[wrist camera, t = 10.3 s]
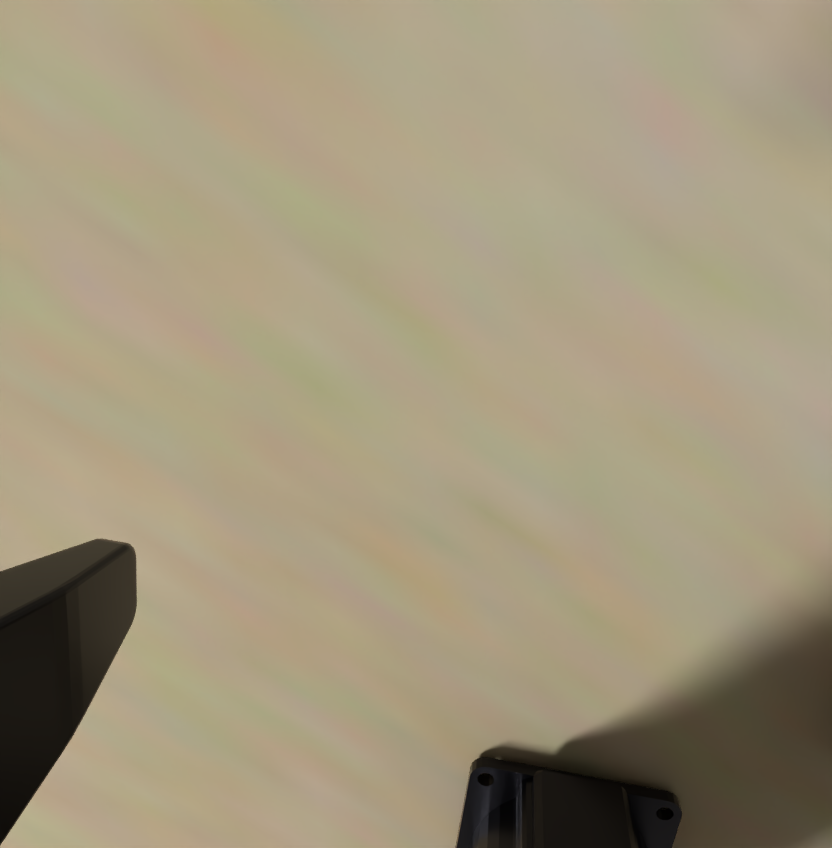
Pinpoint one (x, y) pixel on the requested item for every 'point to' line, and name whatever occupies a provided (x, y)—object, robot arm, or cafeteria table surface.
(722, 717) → the cafeteria table surface
